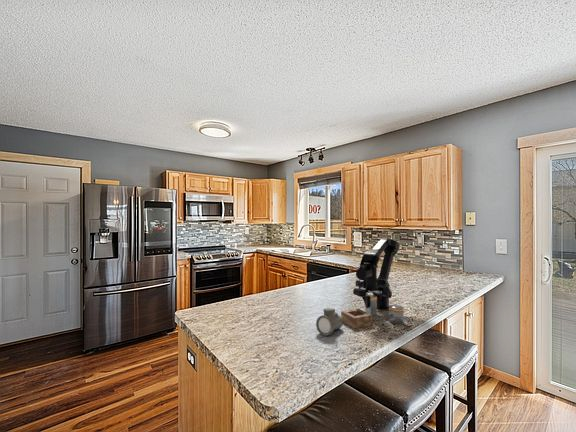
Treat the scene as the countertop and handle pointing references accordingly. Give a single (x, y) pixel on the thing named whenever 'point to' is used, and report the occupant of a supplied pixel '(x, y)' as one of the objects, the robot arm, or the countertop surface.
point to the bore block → (356, 318)
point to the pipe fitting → (328, 322)
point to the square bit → (372, 305)
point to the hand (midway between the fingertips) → (371, 307)
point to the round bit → (396, 314)
